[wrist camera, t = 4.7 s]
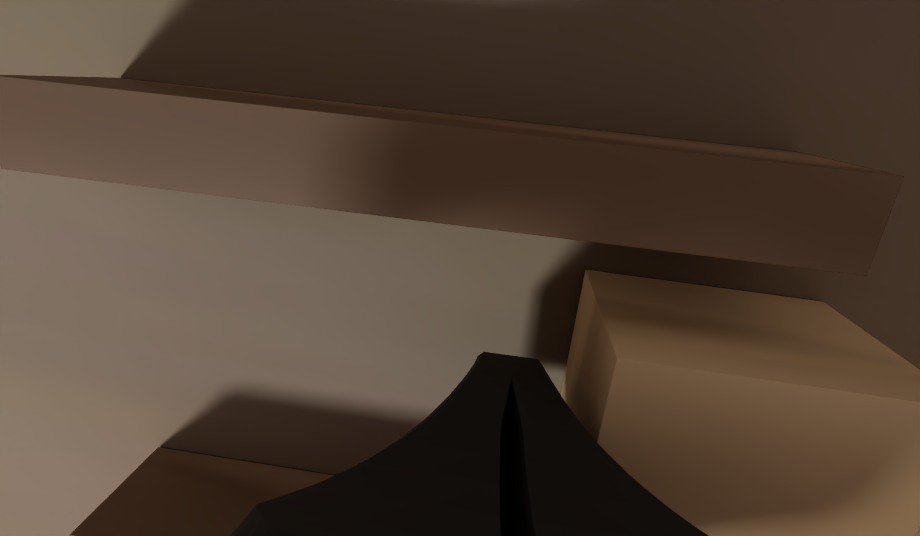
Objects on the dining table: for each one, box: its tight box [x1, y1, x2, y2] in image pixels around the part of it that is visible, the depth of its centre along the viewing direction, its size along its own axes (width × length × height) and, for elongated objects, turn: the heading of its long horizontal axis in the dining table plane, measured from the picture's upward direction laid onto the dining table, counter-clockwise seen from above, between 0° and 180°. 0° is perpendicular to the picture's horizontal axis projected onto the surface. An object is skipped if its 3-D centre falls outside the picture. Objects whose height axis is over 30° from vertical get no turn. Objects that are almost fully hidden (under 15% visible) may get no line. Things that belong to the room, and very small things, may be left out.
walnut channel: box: [0, 75, 904, 536], centre depth 11 cm, size 11×14×3 cm
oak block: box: [561, 270, 920, 536], centre depth 10 cm, size 5×5×4 cm
